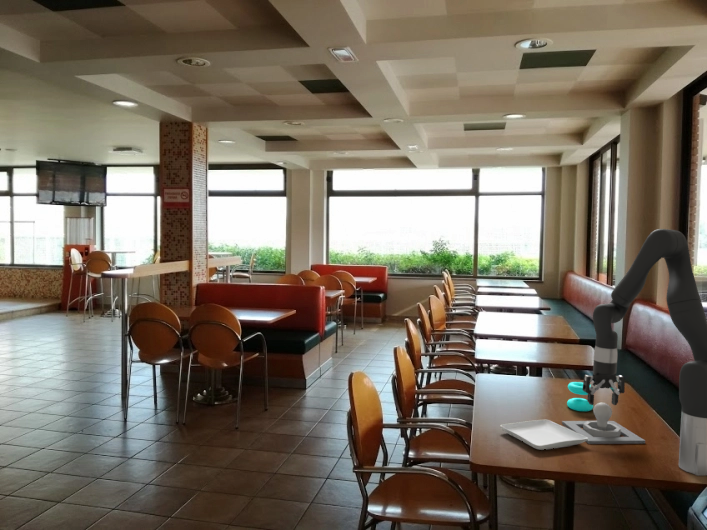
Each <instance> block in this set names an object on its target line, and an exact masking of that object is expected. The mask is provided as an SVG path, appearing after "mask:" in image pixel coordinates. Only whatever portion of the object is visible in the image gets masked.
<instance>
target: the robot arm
mask: <svg viewBox="0 0 707 530" xmlns="http://www.w3.org/2000/svg"><path fill="white" fill-rule="evenodd" d="M663 258H664V261H665V264H666V267H667V272H668V285H667V289H666V298H665V299H666V305H667V307H668V308H667V309H668V312H669V313H668V314H669V316H670V318H671V319H670V320H671V322H672V324H673V325H674V326H675V328H676V329H677V330H678V332H679V333H680V334H681V336H682V337H683V338H684V339H685V340H686V342H687V343H688V346H689V347H690V350H691V353H692V356H693V361H688V362H687V361H686V362H685V363H684V364H683V365H682V366H681V368H680V371H679V378H678V384H679V385H678V395H679V396H678V397H679V402H680V404H681V413H680V414H681V415H680V416H681V418H680V432H679V448H678V449H679V451H678V453H679V454H678V467H679V469H681V470H683V471H684V472H687V473H690V474H693V475H695V476H707V319H706V318H707V317H706V314H705V309H704V307H703V302H702V300H701V296H700V293H699V290H698V286H697V283H696V279H695V276H694V271H693V268H692V262H691V255H690V249H689V243H688V241H687V238H686V236H685V235H684V234H683V233H682V232H681V231H679V230H677V229H669V228H667V229H666V228H658V229H655V230H653V231H651V232H650V234H649V235H648V236H647V237H646V239H645V240H644V242H643V244H642V246H641V248H640V250H639V251H638V253H637V255H636V257H635V259H634V260H633V263H632V264H631V265H630V267H629V269H628V271H626V274H625V275H624V276H622V278H621V280H620V281H619V282H618V283H617V285H616V286H615V288H613V290H612V292H611V294H610V298H611V300H610V302H608V303H600V304H597V305H596V306H595V307H594V309H593V312H592V321H593V327H594V331H595V345H594V351H593V365H592V366H593V367H592V372H593V374H592V375H588V374H584V375H583V381H582V382H583V391H585V392H586V393H588V395H587V399H586V400H587V401H588V402H589V404H590V405H593V406H594V403H595V394H596V391H599V390H600V389H610V390H611V392H612V393H611V404H612V405H613V406H618V405H617V404H618V403H619V396H620V395H621V394H624V393H625V389H626V388H625V386H626V385H625V383H626V382H625V379H626V378H625V376H623V375H621V374H619V375H617V368H618V339H619V338H618V335H619V334H618V333H617V332H616V331H615V330H613V329H612V324H617V323H619V322H620V321H622V319H623V318H624V317H625V316H626V314H627V313H628V310H629V309H630V305H631V304H632V302H634V301H635V299H636V298H637V297H638V296H639V294H640V293H641V292H642V290H643V289H644V287H645V284H646V281H647V277H648V275H649V273H650V271H651V269H652V268H653V267H654V266H655V264H657V263H658V262H659V261H660V260H661V259H663ZM591 382H592V383H591ZM615 382H617V386H616V385H615ZM590 385H591V387H590Z"/></svg>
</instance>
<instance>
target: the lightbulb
mask: <svg viewBox="0 0 707 530" xmlns="http://www.w3.org/2000/svg"><path fill="white" fill-rule="evenodd" d="M592 410H593V411H592V412H593V415H594V417H595V419H596V421H597V425H598V430H603V431H607V430H606V426H607V422H608V421H610V418H611V417H612V415H613V409H612V407H611V406H610V405H609V404H608V403H607V402H601V401H600V402H598V403H596V404H595V405H593V409H592Z"/></svg>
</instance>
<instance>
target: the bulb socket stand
mask: <svg viewBox="0 0 707 530" xmlns="http://www.w3.org/2000/svg"><path fill="white" fill-rule="evenodd" d="M561 424H562V426H563V427H566V428H568V429H570V430H572V431H574V432H577V433H579V434H581V435H583V436H585V437H587V438H588V440H587V441H585V442H586V443H587V444H588V445H600V444H601V445H605V444H607V445H611V444H612V445H614V444H619V445H620V444H621V445H622V444H624V445H625V444H627V445H628V444H631V445H632V444H635V445H636V444H646V440H645V439H644V438H642V437H640V436H639V435H637V434H635V433H634V432H632V431H631V430H629V429H627V428H626V427H624V426H623V425H621V424H620V423H618V422H617V421H615V420H608V422H607V426H606V431H603V430H598V425H597V420H561ZM585 442H584V443H585Z"/></svg>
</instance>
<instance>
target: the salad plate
mask: <svg viewBox="0 0 707 530" xmlns="http://www.w3.org/2000/svg"><path fill="white" fill-rule="evenodd" d="M499 426H500V427H499V428H500V429H501V430H502V431H504V432H505V433H507V434H508V435H510V436H511V437H513V438H515V439H517V440H519V441H521V442H522V441H523V443H524V444H526V445H528V446H530V447H532V448H534V449H536V450H538V451H539V450H541V451H543V450H544V449H546V450H551V449H552V450H554V449H559V448H566V447H572V446H575V445H579V444H583V443H585V441H587V440H588V438H587V437H585V436H583V435H581V434H579V433H577V432H574V431H572V430H570V429H568V428H567V427H566V426H564V425H561V424H558V423H556V422H554V421H552V420H550V419H547V418H546V419H545V418H544V419H536V420H535V419H534V420H526V421H525V420H524V421H518V422H511V423H510V422H509V423H504V424H500V425H499ZM553 448H554V449H553ZM544 451H545V450H544Z"/></svg>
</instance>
